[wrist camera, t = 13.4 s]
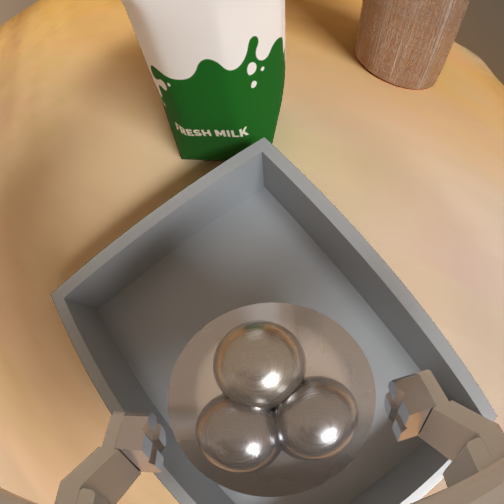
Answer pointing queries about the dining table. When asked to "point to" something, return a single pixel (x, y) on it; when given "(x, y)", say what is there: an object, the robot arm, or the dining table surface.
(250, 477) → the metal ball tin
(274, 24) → the milk carton
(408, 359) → the bin
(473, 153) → the dining table surface
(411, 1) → the planter
